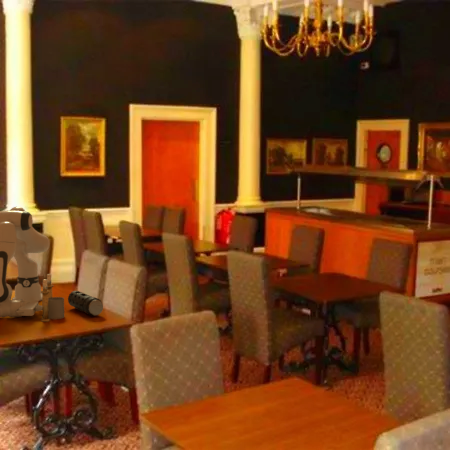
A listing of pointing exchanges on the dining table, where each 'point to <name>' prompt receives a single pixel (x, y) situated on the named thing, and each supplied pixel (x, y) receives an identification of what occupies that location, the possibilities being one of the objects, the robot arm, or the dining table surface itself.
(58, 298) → the cup
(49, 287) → the candlestick inner
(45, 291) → the candlestick outer
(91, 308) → the muzzle brake
